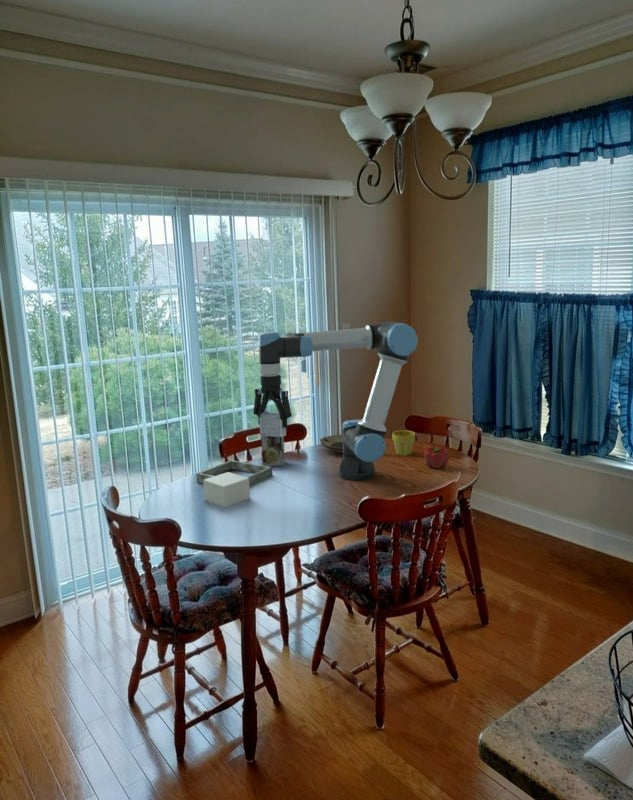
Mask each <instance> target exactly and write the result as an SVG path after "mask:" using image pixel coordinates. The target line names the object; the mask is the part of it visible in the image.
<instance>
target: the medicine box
mask: <svg viewBox="0 0 633 800" xmlns="http://www.w3.org/2000/svg"><path fill="white" fill-rule="evenodd" d="M260 416H261V433H262V436H273V437H280V419H281V416H280V414H279V411H268V410H267V411H266V410H265V412H263V413H261V414H260Z"/></svg>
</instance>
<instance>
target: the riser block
mask: <svg viewBox="0 0 633 800" xmlns="http://www.w3.org/2000/svg"><path fill="white" fill-rule="evenodd" d="M247 477H248V476H243V475H241V474H236V473H233V472H231V471H230V472H229V471H226V472H223V473H221V474H218V475H216V476H214V477H211V478H208V479H204V480H203V483H202V484H203V499H204V501H206V502H209V503H212V504H215V505H218V506H221V507H224V508H226V507H229V506H233V505H235V504H238V503H240V502H242V501H243V502H244V501H245V500H249V499H250V498H251V493H250V491H251V490H250V486H249V478H247Z"/></svg>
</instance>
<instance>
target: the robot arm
mask: <svg viewBox="0 0 633 800" xmlns="http://www.w3.org/2000/svg"><path fill="white" fill-rule="evenodd" d="M418 342H419V341H418V334H417V332H416V331H415V329H414V328H413V327H412V326H411V325H408V324H406V323H405V322H396V321H386V322H381V323H375V324H366V325H365V326H364V327H360V328H359V327H358V328H346V329H334V330H325V331H324V330H321V331H309V332H307V331H306V332H299V333H298V332H297V333H292V332H288V333H284V334H283V335H282V336H280V333H279V332H276V331H267V332H260V333H259V335H258V353H259V354H258V355H259V357H258V359H259V374H260V377H259V378H260V385H261V387H259V388H255V389H254V395H255V396H254V397H255V398H254V405H253V415H255V416H257V419H258V421H257V422H258V423H257V424H258V425H259V434H260V435H261V434H262V433H261V416H260V414H261V413H263V412H265V411H266V409H267V406H268V404H269V401H272V402H273V403H274V405H275V407H276V409H277V412H279V414H280V416H281V419H280V437H283V436H284V437H286V436H287V428H288V419H289V418H291V417H292V416H293V415H292V410H291V406H290V401H289V390H282V388H281V385H282V376H281V373H282V372H281V371H282V370H281V359H285V358H305V357H310V356H312V354H313V352H319V351H322V352H323V351H332V350H345V349H356V348H357V349H358V348H359V349H360V348H366V349H367V350H378V352H377V356H378V357H379V359H380V360H379V363H378V367H377V369H376V372H375V375H374V380H373V383H372V387H371V389H370V392H369V396H368V400H367V403H366V407H365V411H364V414H363V418H362V419H349V420H345V421H343V422H342V425H341V426H342V427H341V432H342V433H341V435H342V437H343V453H342V459H341V462H340V464H339V468H338V475H339V477H340V478H341V479H345V480H351V481H364V480H368V479H373V478H374V477H375V476H376V474H377V473H376V472H377V471H376V470H377V469H376V467H375V462H376V461H378V460H379V459H381V458H382V457H383V455H384V454H385V452H386V447H387V446H386V440H385V437H386V434H387V428H386V426H385V424H386V420H387V417H388V413H389V410H390V407H391V403H392V401H393V400H392V399H393V397H394V395H395V389H396V387H397V383H398V381H399V376H400V373H401V370H402V366H403V365H405V364H407V363H408V361H409V358H410V355H411V354H413V352H414V351H415V350H416V349H417V346H418Z"/></svg>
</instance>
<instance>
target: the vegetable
mask: <svg viewBox="0 0 633 800" xmlns="http://www.w3.org/2000/svg"><path fill="white" fill-rule="evenodd" d="M423 457H424V462H425V464H426V466H427V467H428V468H433V469H435V468H438V469H440V468H445V467H446V466H447V465H448V462H449V459H450V453H449V450H448V449H447V447H445V446H440V445H435V444H433V445H431V446H429V447H426V448H425V449H424V451H423ZM444 466H445V467H444Z"/></svg>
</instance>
